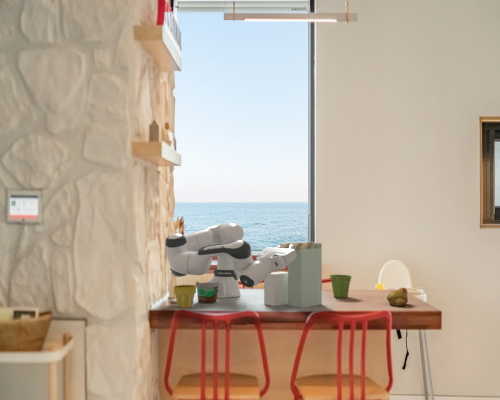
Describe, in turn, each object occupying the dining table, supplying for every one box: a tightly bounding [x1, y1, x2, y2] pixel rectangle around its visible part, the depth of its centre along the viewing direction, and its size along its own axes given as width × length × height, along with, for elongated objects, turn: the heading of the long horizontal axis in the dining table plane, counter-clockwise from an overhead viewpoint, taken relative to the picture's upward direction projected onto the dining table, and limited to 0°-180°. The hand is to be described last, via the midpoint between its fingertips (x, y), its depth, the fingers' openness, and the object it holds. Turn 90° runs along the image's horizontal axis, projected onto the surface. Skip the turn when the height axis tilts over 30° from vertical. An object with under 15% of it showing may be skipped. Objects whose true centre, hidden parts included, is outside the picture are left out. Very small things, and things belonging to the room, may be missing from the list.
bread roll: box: [386, 287, 409, 307], centre depth 248 cm, size 13×10×8 cm
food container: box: [195, 281, 219, 304], centre depth 254 cm, size 12×6×10 cm, turn 70°
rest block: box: [263, 271, 288, 307], centre depth 251 cm, size 12×7×15 cm, turn 130°
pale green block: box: [287, 242, 323, 309], centre depth 248 cm, size 14×9×30 cm, turn 130°
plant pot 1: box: [173, 284, 197, 309], centre depth 243 cm, size 10×10×10 cm
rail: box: [279, 241, 315, 250], centre depth 245 cm, size 20×3×3 cm, turn 130°
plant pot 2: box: [329, 274, 353, 299], centre depth 271 cm, size 12×12×11 cm
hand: (288, 245), depth 241 cm, fingers open, 5 cm apart
